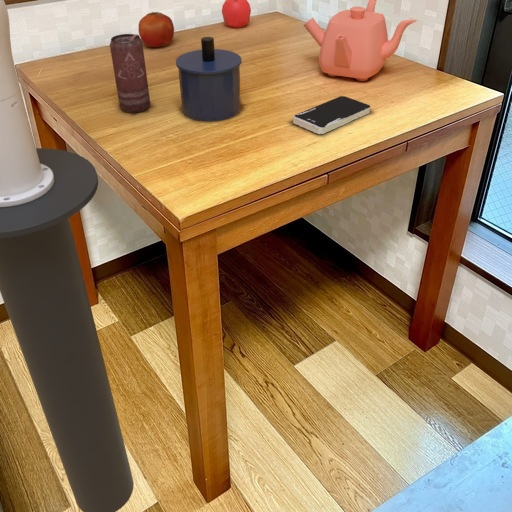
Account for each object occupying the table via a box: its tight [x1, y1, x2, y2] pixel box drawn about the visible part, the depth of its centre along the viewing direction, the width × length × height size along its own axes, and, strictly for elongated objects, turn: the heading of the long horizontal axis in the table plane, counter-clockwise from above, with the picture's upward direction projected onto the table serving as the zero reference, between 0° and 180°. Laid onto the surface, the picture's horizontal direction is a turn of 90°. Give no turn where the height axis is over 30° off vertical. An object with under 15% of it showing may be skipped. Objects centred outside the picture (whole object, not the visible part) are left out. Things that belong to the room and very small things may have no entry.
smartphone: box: [292, 95, 371, 135], centre depth 116 cm, size 8×1×15 cm
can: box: [109, 33, 151, 114], centre depth 117 cm, size 6×6×14 cm
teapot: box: [303, 0, 418, 82], centre depth 131 cm, size 18×18×14 cm
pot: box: [177, 65, 242, 122], centre depth 117 cm, size 12×12×10 cm
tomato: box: [138, 11, 175, 48], centre depth 150 cm, size 9×9×8 cm
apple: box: [221, 0, 252, 29], centre depth 162 cm, size 8×8×8 cm
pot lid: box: [175, 36, 243, 74], centre depth 113 cm, size 13×13×5 cm
